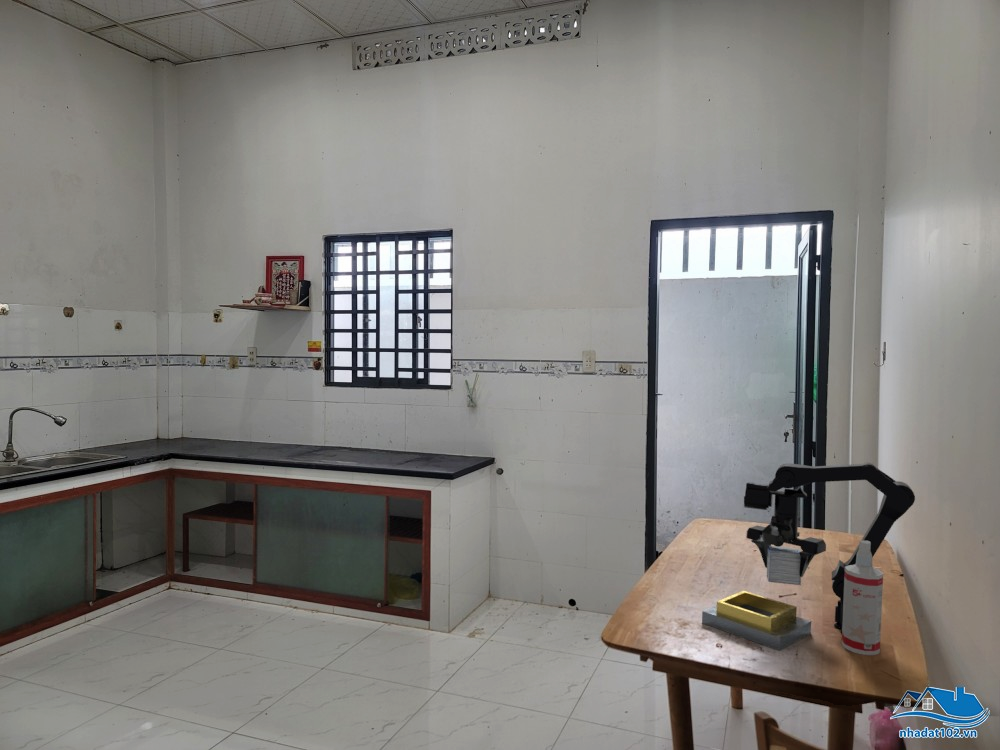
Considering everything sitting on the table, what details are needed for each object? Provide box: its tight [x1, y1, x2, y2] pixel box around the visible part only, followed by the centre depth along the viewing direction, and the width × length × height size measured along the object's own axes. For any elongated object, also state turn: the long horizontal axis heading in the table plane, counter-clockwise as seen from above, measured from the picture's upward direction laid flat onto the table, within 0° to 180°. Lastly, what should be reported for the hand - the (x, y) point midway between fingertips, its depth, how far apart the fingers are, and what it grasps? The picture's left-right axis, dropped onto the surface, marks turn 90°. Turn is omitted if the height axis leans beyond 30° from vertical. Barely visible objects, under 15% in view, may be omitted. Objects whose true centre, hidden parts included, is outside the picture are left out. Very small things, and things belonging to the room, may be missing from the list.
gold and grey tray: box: [701, 590, 812, 652], centre depth 164 cm, size 20×16×6 cm
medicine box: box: [766, 545, 802, 586], centre depth 173 cm, size 8×4×9 cm, turn 74°
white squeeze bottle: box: [841, 540, 884, 656], centre depth 154 cm, size 8×8×25 cm
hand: (783, 572), depth 173 cm, fingers closed on medicine box, 9 cm apart
